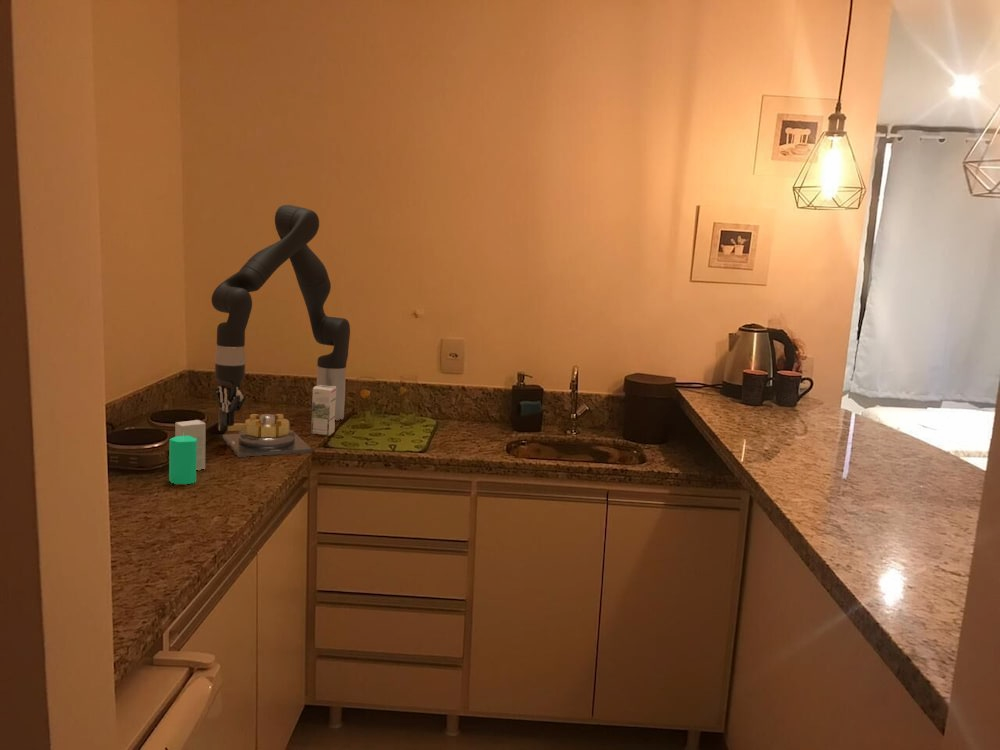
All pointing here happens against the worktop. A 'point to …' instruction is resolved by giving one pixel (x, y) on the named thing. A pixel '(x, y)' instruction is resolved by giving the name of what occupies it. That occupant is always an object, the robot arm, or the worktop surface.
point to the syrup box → (323, 410)
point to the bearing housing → (266, 442)
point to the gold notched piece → (257, 426)
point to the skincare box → (196, 431)
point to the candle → (182, 459)
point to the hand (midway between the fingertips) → (228, 425)
